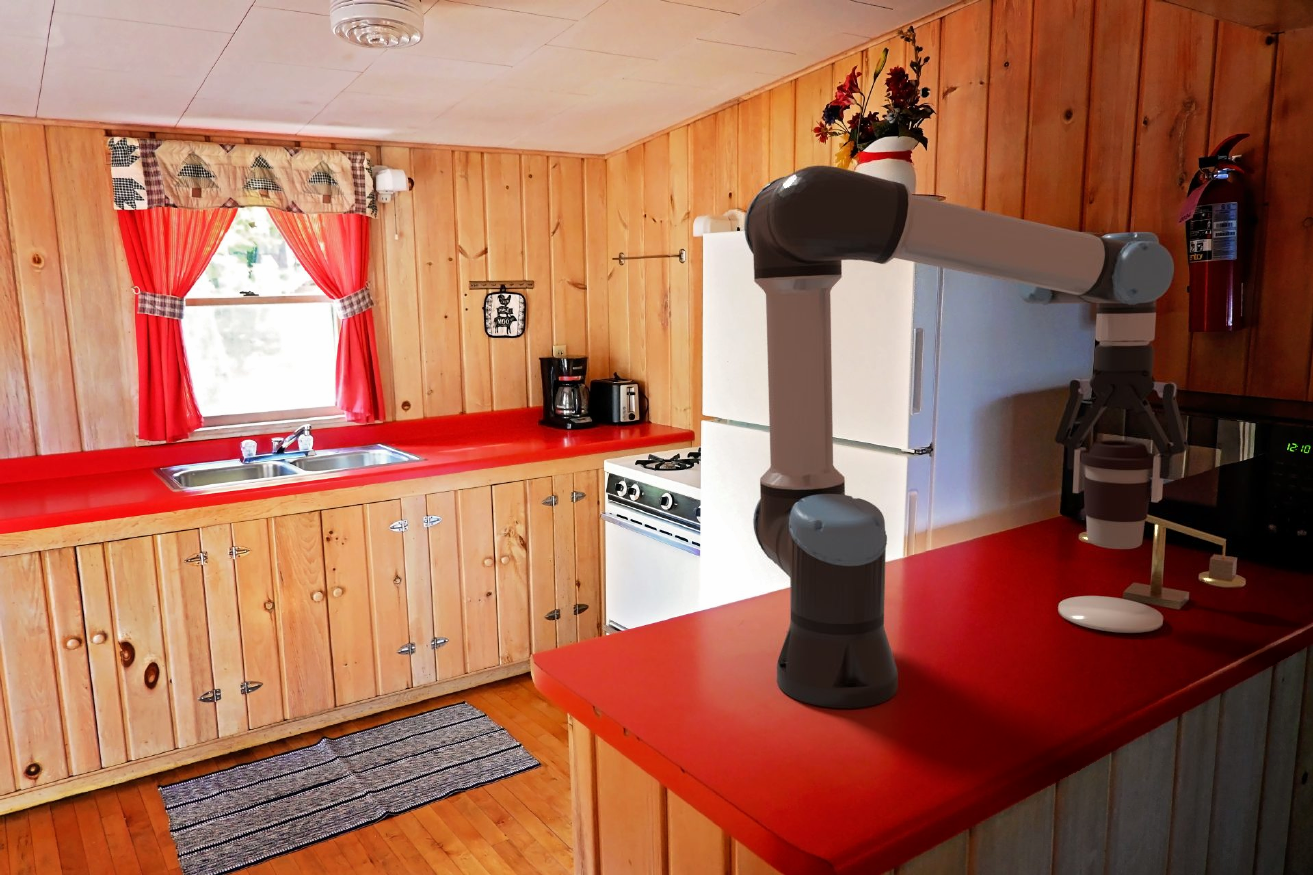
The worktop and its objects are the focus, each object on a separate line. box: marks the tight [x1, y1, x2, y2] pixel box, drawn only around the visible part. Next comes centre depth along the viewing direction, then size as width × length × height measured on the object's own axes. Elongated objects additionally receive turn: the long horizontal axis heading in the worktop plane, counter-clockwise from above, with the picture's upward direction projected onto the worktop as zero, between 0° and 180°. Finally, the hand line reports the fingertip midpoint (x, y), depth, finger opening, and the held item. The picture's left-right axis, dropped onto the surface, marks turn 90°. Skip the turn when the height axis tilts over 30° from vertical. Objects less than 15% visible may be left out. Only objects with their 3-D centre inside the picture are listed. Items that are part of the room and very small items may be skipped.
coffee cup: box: [1081, 439, 1157, 550], centre depth 133 cm, size 10×10×15 cm
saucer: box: [1057, 595, 1164, 634], centre depth 136 cm, size 14×14×1 cm
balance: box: [1078, 514, 1247, 611], centre depth 143 cm, size 6×24×15 cm, turn 48°
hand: (1116, 495), depth 133 cm, fingers closed on coffee cup, 10 cm apart
